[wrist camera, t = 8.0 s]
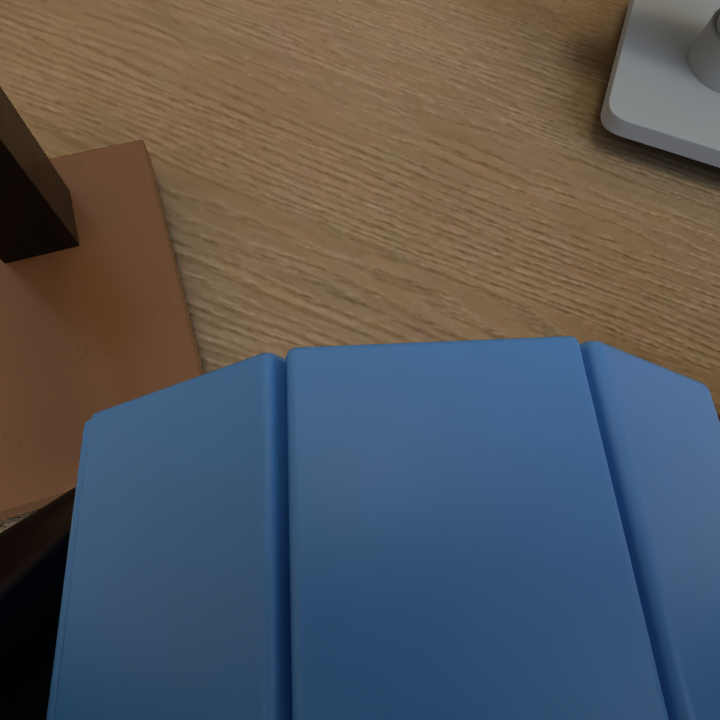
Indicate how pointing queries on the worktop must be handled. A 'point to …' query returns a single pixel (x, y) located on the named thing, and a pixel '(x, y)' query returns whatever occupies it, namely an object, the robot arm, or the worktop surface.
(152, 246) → the hook stand
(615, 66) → the shower valve
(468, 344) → the tape roll
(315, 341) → the worktop surface
